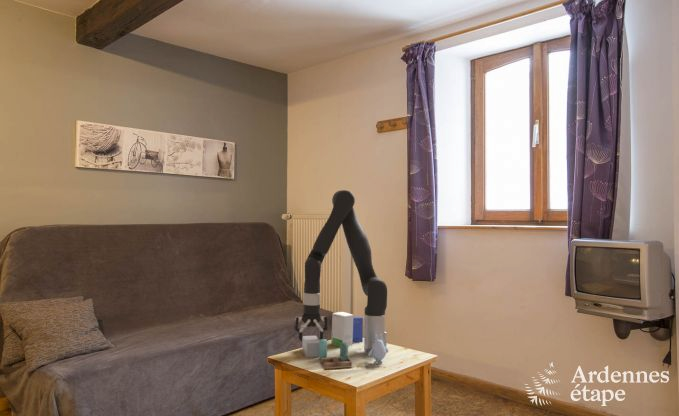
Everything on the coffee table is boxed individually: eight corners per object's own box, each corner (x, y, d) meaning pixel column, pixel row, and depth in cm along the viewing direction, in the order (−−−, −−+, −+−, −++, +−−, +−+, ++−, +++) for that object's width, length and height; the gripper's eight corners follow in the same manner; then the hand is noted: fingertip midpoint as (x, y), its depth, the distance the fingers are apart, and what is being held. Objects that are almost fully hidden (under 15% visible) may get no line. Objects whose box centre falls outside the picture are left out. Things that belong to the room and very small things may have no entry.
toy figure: (383, 359, 201) (383, 331, 201) (392, 363, 196) (393, 334, 196) (363, 363, 195) (363, 334, 195) (373, 367, 190) (373, 338, 190)
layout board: (317, 351, 212) (317, 340, 212) (323, 359, 200) (323, 348, 200) (300, 352, 211) (300, 341, 211) (304, 360, 198) (304, 349, 198)
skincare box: (330, 346, 220) (331, 313, 220) (341, 343, 225) (341, 311, 225) (343, 350, 214) (343, 315, 214) (353, 347, 219) (353, 313, 219)
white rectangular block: (315, 348, 212) (315, 335, 212) (320, 356, 200) (320, 342, 200) (302, 349, 210) (302, 336, 210) (306, 357, 199) (306, 343, 199)
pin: (326, 360, 199) (326, 339, 199) (327, 362, 196) (327, 340, 196) (318, 360, 198) (318, 339, 198) (320, 363, 195) (320, 341, 195)
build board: (346, 362, 196) (346, 340, 196) (351, 368, 189) (351, 346, 189) (320, 364, 194) (321, 342, 194) (324, 370, 186) (324, 347, 186)
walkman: (361, 340, 231) (361, 316, 231) (362, 342, 228) (362, 317, 228) (345, 340, 230) (346, 316, 230) (346, 342, 227) (346, 317, 228)
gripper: (325, 301, 211) (324, 337, 210) (294, 301, 207) (293, 338, 207) (329, 304, 203) (328, 342, 203) (296, 304, 200) (295, 343, 200)
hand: (310, 340), depth 205 cm, fingers open, 8 cm apart
